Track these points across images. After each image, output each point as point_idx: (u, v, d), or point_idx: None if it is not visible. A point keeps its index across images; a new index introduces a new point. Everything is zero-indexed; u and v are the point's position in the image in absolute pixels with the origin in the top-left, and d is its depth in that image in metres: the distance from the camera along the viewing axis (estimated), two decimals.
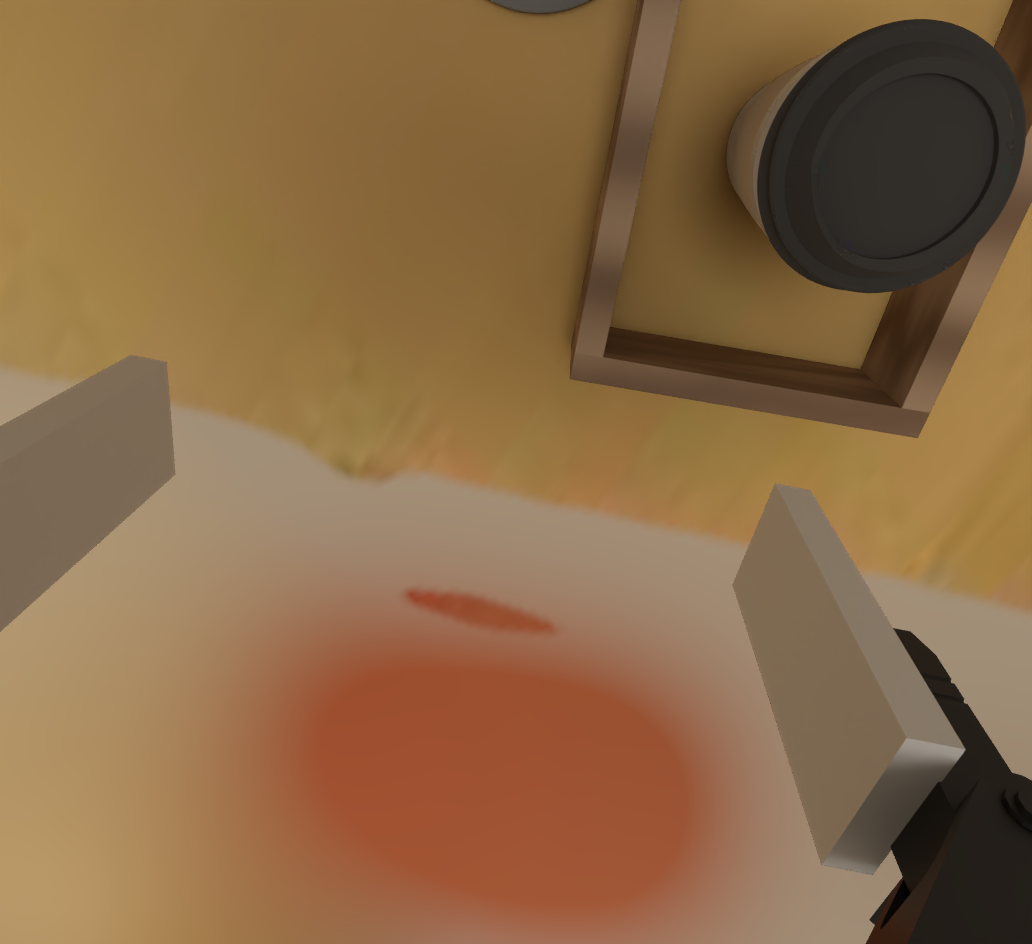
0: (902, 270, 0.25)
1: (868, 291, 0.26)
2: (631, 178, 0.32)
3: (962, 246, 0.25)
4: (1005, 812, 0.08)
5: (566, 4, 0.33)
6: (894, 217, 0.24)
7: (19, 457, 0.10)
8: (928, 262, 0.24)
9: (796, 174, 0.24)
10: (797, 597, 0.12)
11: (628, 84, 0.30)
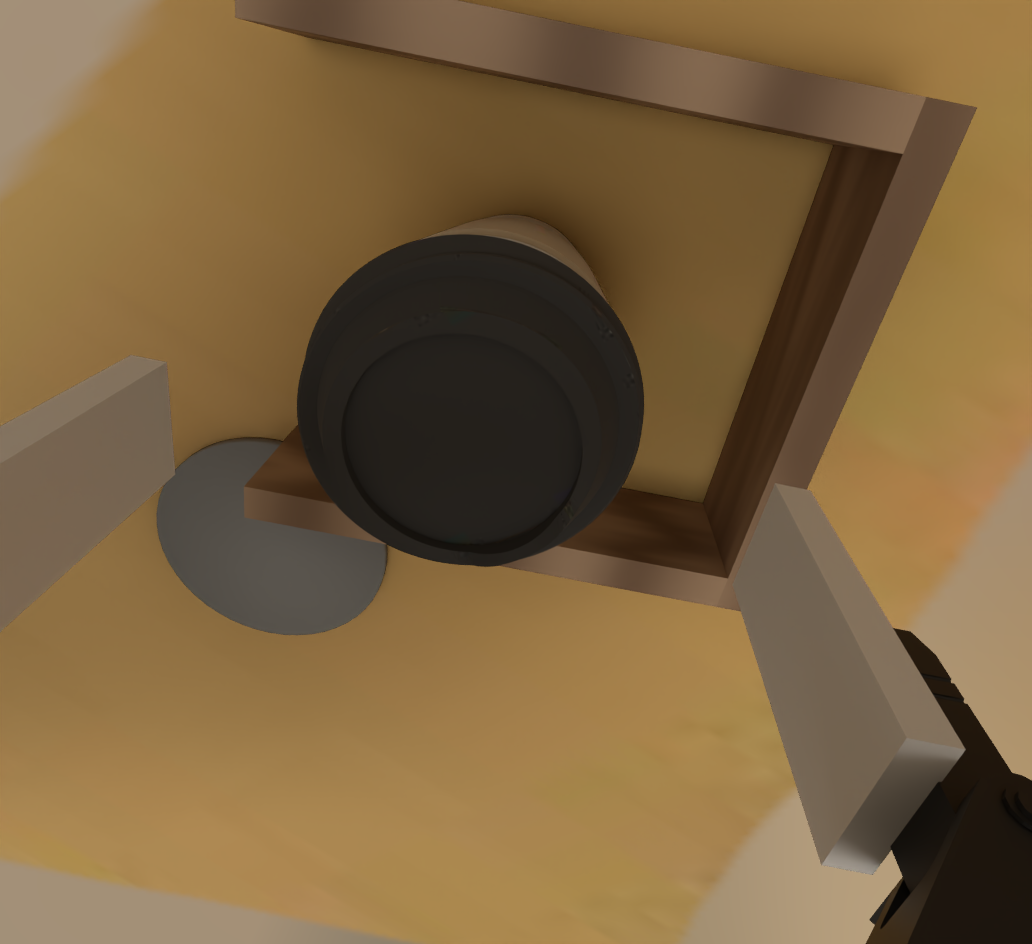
0: (601, 429, 0.16)
1: (638, 434, 0.17)
2: None
3: (578, 315, 0.16)
4: (1005, 812, 0.08)
5: None
6: (524, 444, 0.16)
7: (19, 457, 0.10)
8: (590, 397, 0.15)
9: None
10: (798, 597, 0.12)
11: None
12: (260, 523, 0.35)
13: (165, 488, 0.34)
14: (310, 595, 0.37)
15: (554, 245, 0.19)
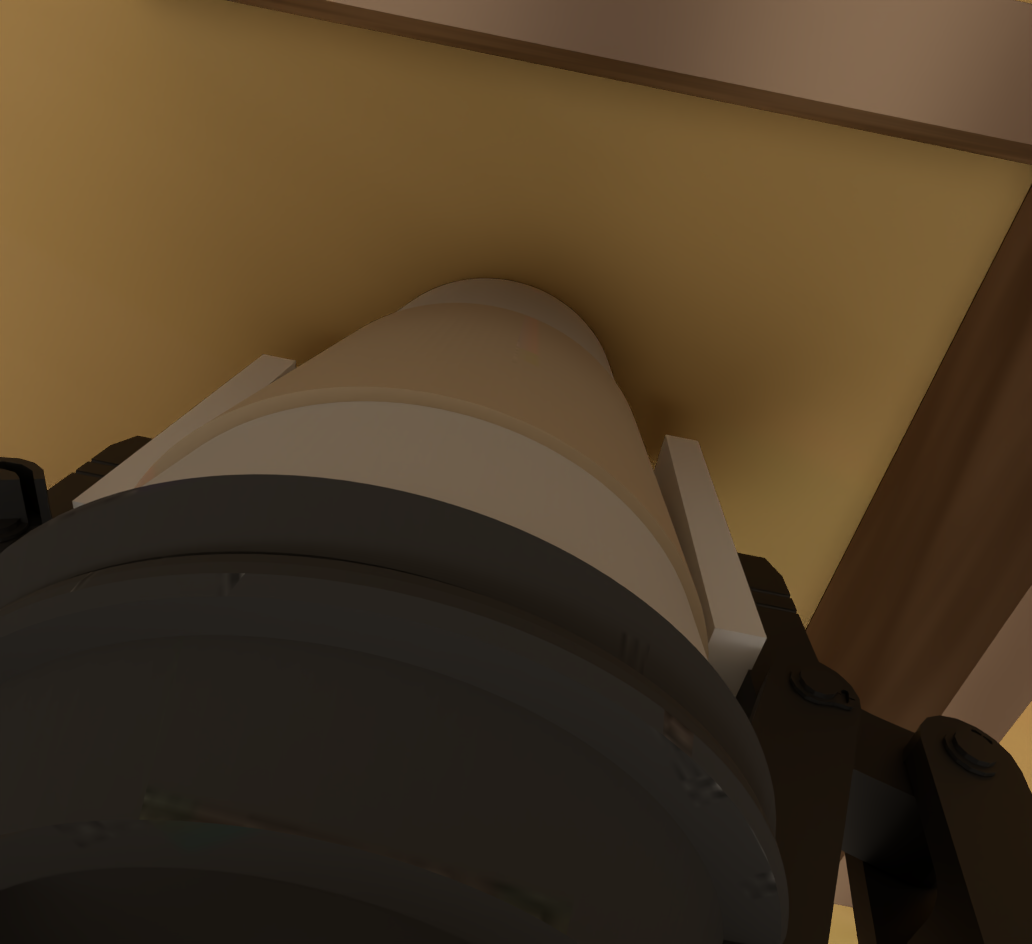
0: None
1: None
2: None
3: (619, 745, 0.05)
4: (792, 691, 0.09)
5: None
6: None
7: None
8: None
9: None
10: None
11: None
12: None
13: None
14: None
15: (554, 403, 0.09)
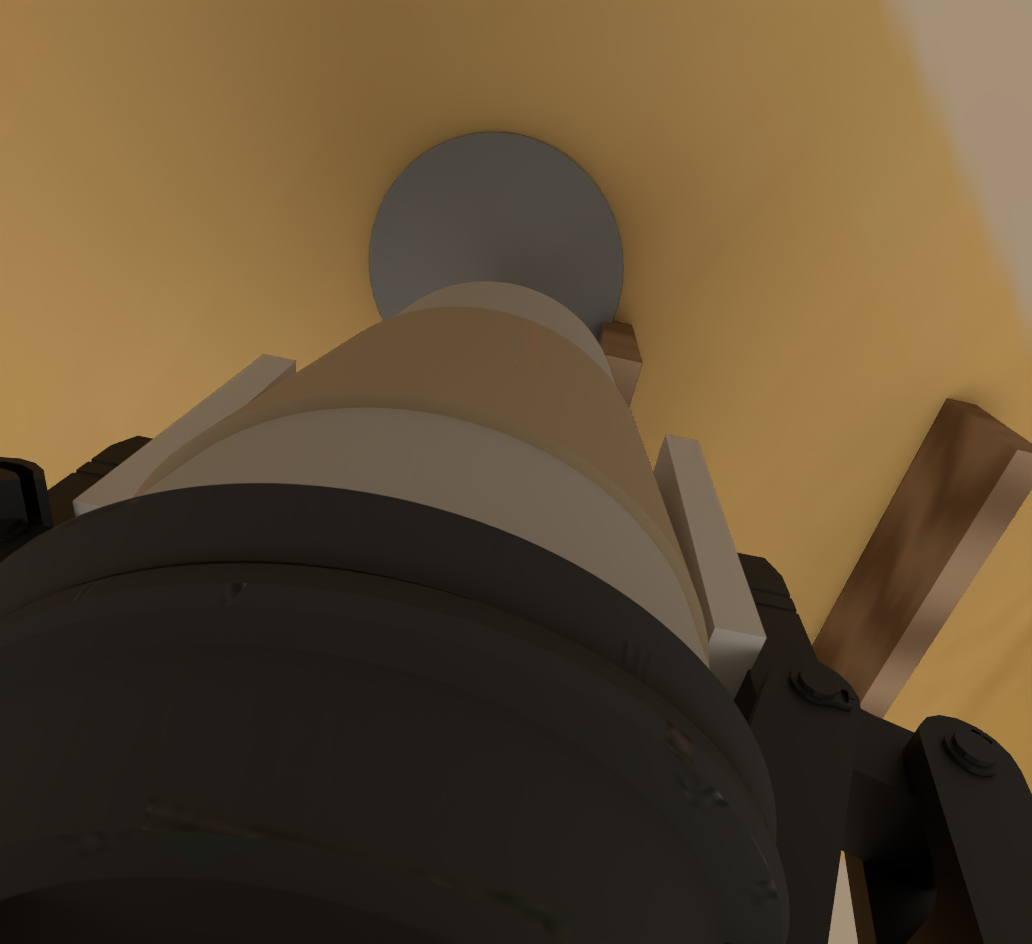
0: None
1: None
2: None
3: (620, 754, 0.05)
4: (791, 690, 0.09)
5: None
6: None
7: None
8: None
9: None
10: None
11: None
12: (524, 269, 0.32)
13: (571, 163, 0.29)
14: None
15: (555, 409, 0.09)
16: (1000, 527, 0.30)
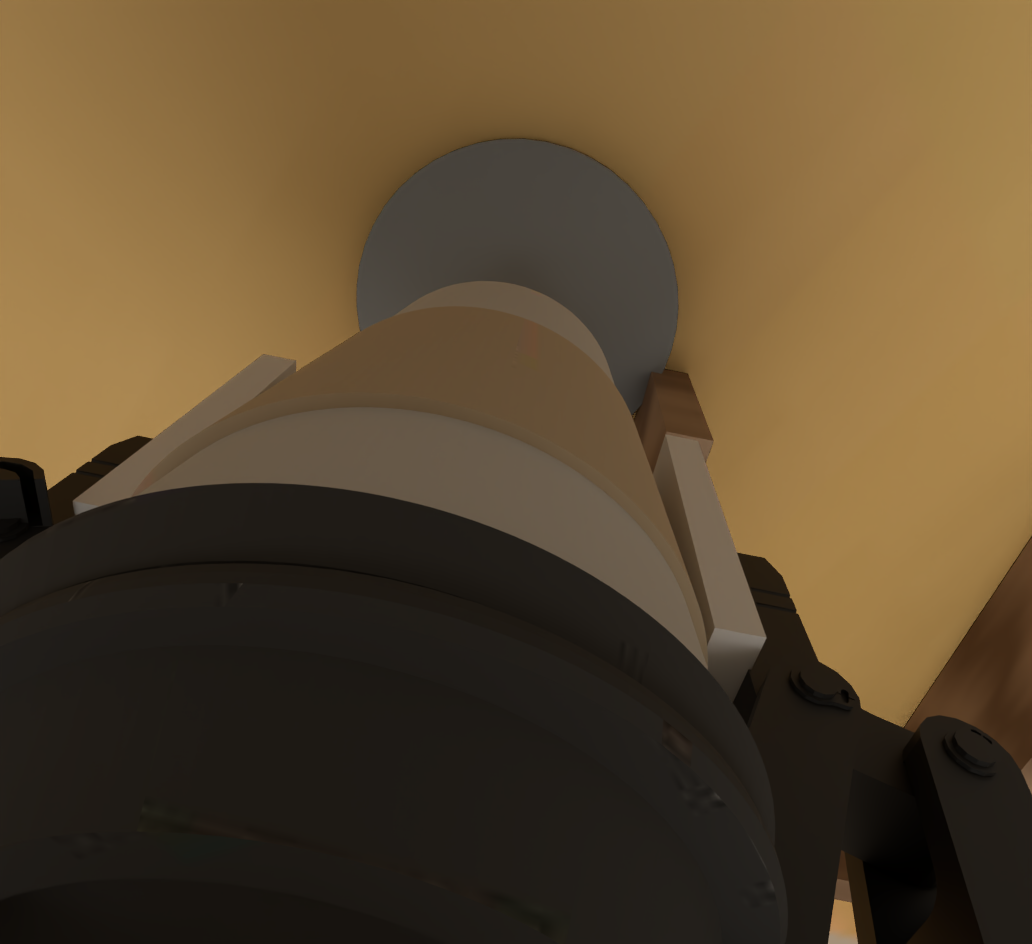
0: None
1: None
2: None
3: (618, 755, 0.05)
4: (791, 690, 0.09)
5: None
6: None
7: None
8: None
9: None
10: None
11: None
12: None
13: (611, 177, 0.23)
14: None
15: (553, 409, 0.09)
16: None
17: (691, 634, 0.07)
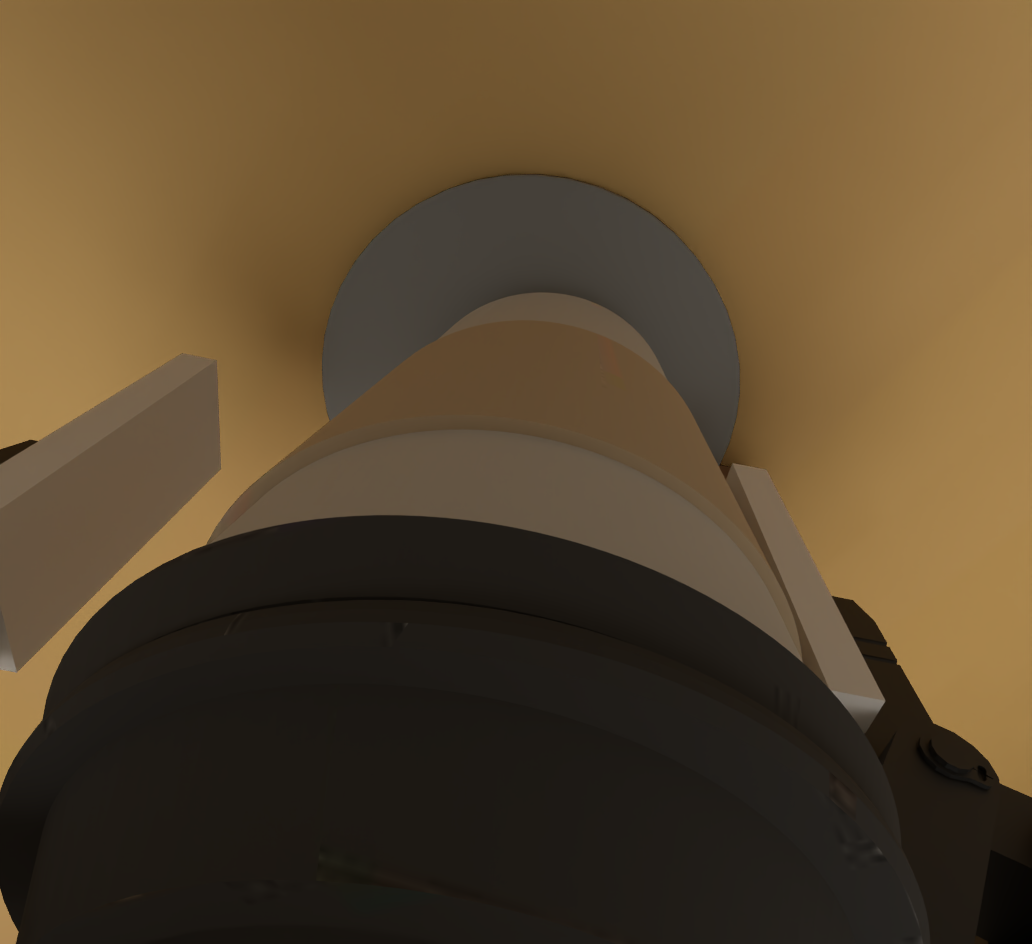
0: None
1: None
2: None
3: (781, 806, 0.05)
4: (920, 759, 0.08)
5: None
6: None
7: (93, 450, 0.11)
8: None
9: None
10: None
11: None
12: None
13: (655, 224, 0.17)
14: None
15: (652, 432, 0.09)
16: None
17: None
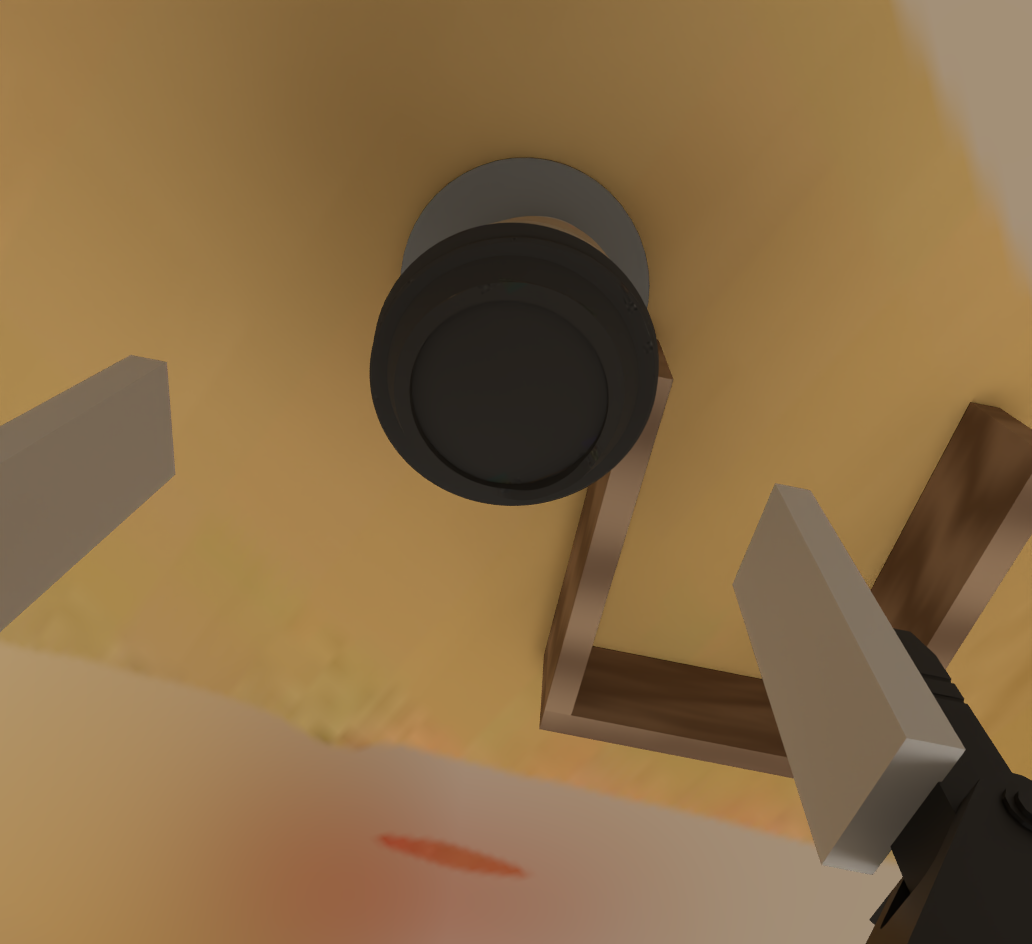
0: (624, 385, 0.19)
1: (654, 393, 0.20)
2: (599, 589, 0.34)
3: (609, 291, 0.19)
4: (1005, 812, 0.08)
5: None
6: (560, 396, 0.20)
7: (19, 457, 0.10)
8: (617, 357, 0.19)
9: None
10: (798, 598, 0.12)
11: (597, 521, 0.32)
12: None
13: (597, 186, 0.30)
14: None
15: (585, 238, 0.23)
16: (1028, 529, 0.30)
17: None
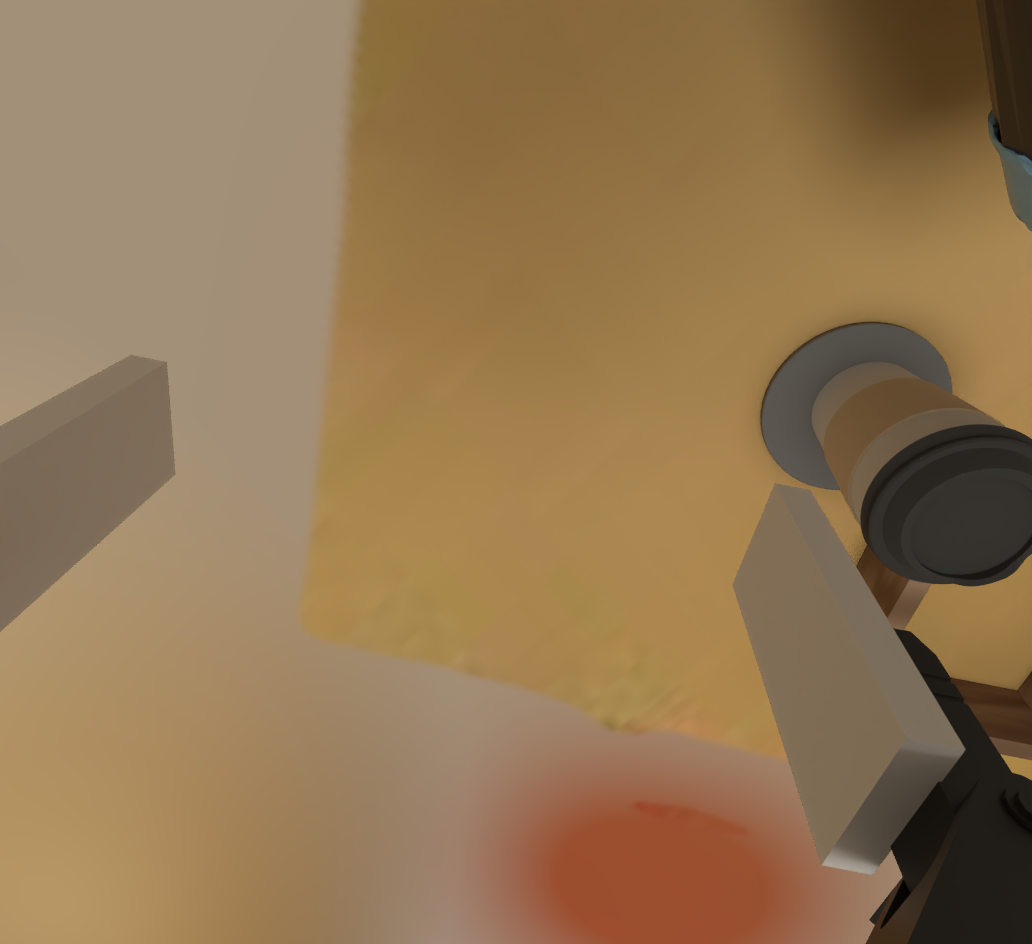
0: None
1: None
2: (901, 621, 0.47)
3: None
4: (1005, 812, 0.08)
5: None
6: (1005, 526, 0.33)
7: (19, 457, 0.10)
8: None
9: None
10: (798, 598, 0.12)
11: None
12: None
13: (926, 343, 0.43)
14: (802, 432, 0.47)
15: None
16: None
17: None
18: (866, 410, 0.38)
